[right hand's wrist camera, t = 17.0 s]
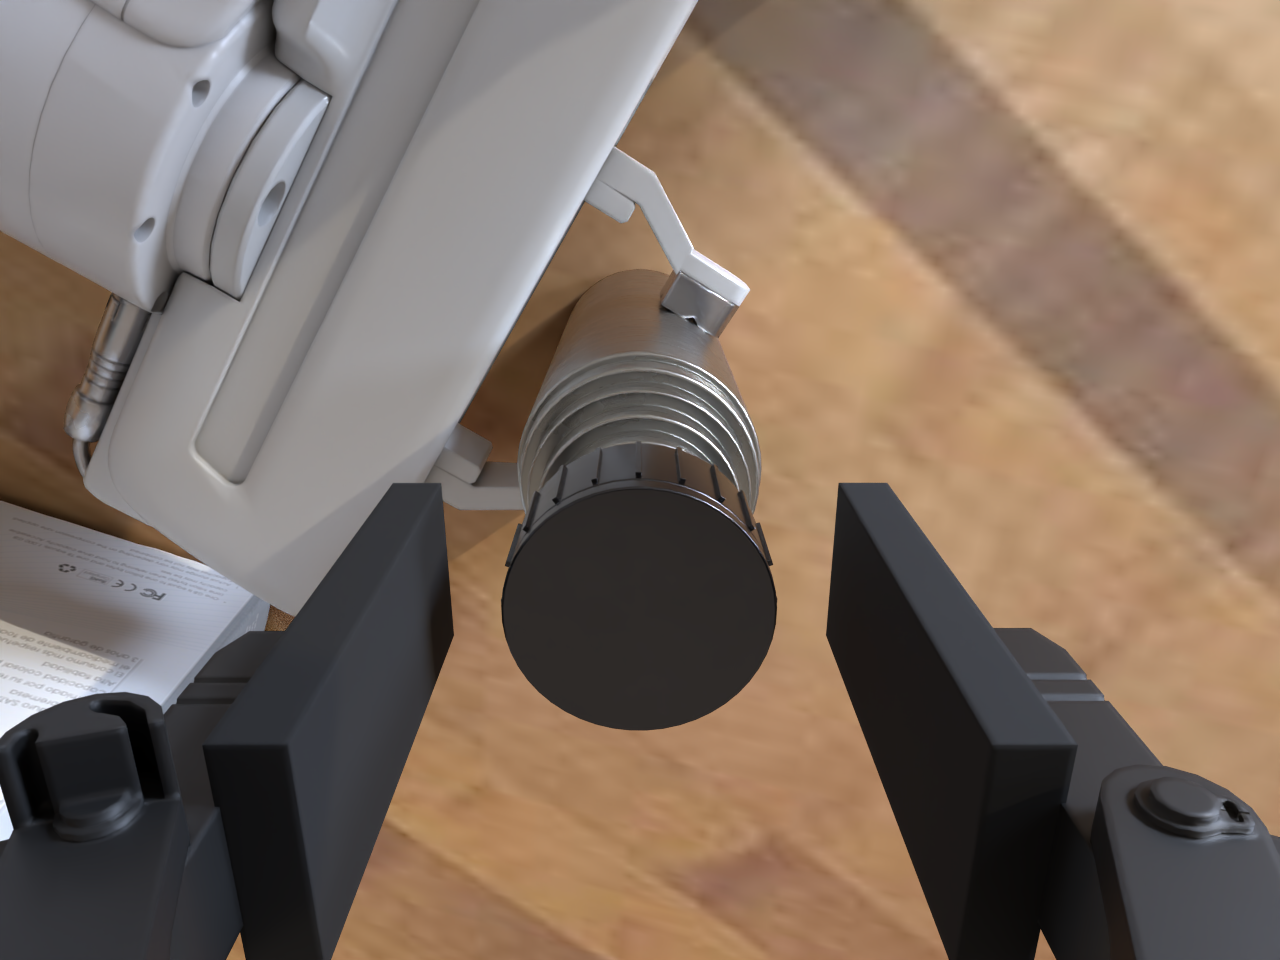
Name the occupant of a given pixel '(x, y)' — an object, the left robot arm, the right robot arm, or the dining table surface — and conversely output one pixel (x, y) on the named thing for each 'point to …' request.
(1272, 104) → the dining table surface
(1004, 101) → the dining table surface
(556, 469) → the bottle
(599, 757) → the dining table surface
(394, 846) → the dining table surface
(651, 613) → the cap
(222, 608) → the hard drive box
